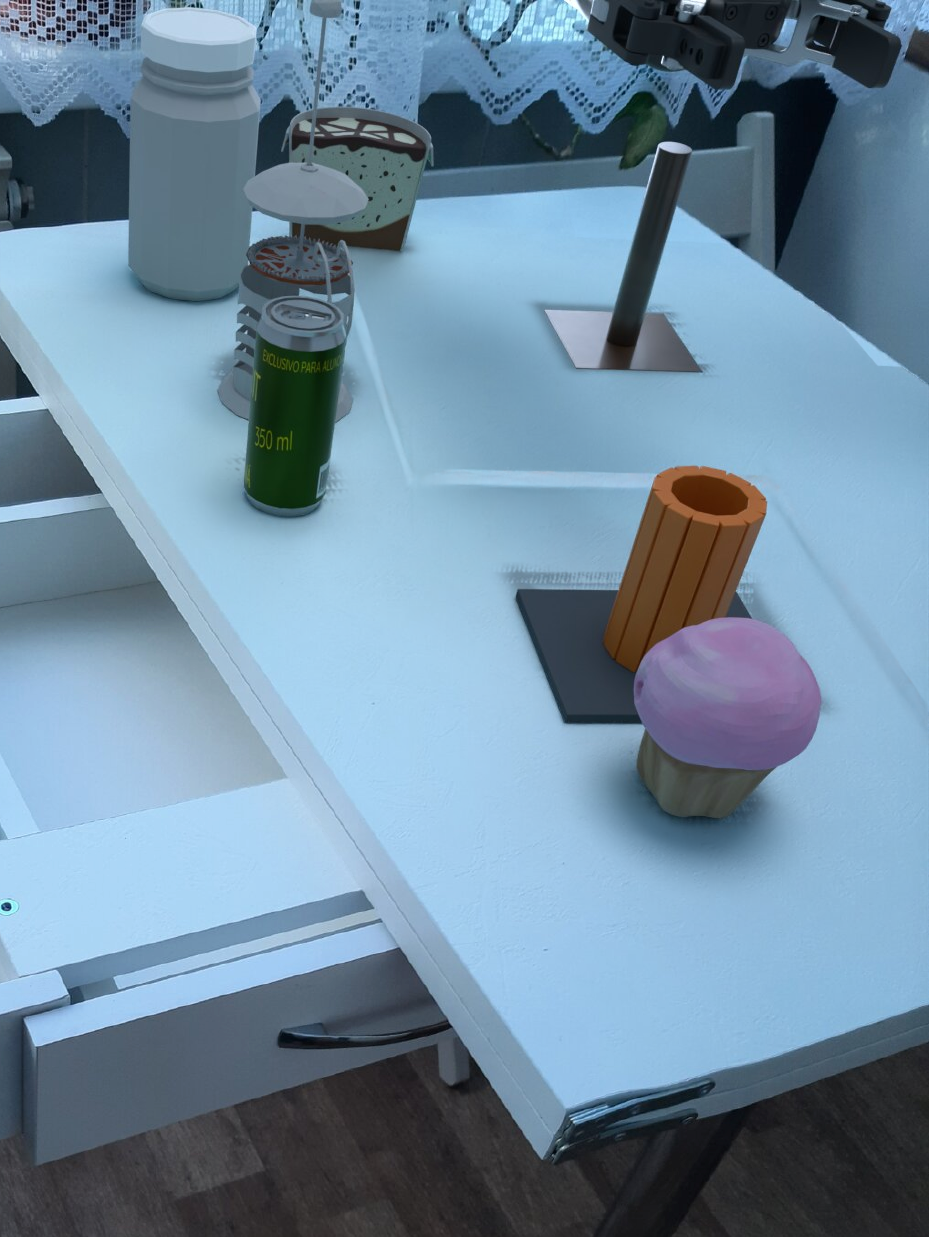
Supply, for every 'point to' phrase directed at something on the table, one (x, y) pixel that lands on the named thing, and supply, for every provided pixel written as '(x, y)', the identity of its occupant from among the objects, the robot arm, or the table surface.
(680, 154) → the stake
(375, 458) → the table surface
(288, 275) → the french press
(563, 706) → the mat
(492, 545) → the table surface
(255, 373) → the beer can
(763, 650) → the cupcake
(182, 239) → the jar
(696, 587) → the orange hollow cylinder
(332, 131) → the food container
